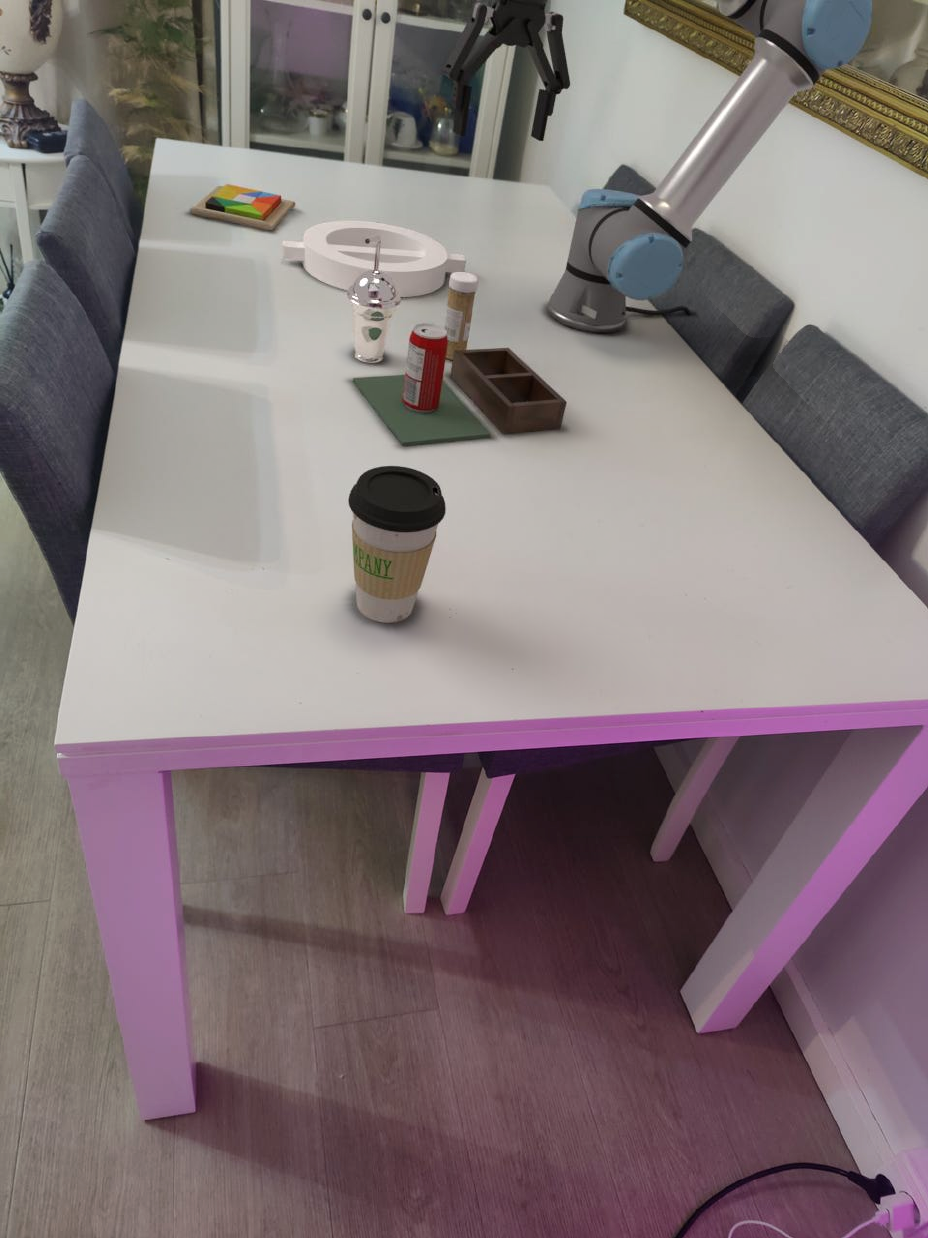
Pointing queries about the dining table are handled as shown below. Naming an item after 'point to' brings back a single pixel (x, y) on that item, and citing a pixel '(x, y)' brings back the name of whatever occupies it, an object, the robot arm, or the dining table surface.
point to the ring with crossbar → (373, 255)
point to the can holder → (507, 390)
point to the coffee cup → (392, 538)
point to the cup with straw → (372, 309)
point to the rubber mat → (420, 413)
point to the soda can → (425, 367)
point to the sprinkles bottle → (459, 310)
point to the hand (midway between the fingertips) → (498, 136)
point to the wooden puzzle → (243, 206)
